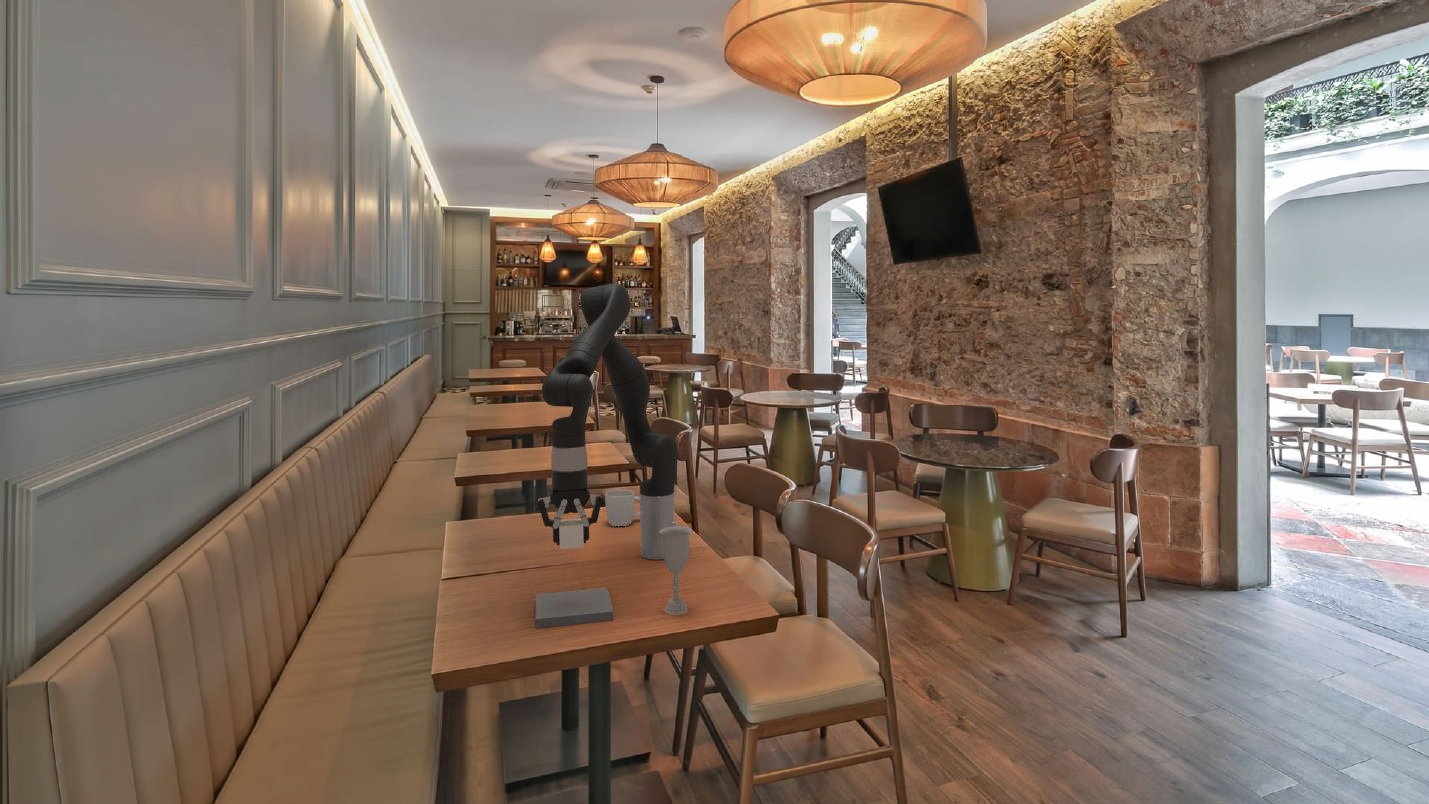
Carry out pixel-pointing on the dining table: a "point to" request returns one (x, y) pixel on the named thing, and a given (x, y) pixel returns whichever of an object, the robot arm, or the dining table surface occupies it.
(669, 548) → the chalice
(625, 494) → the mug
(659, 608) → the dining table surface
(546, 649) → the dining table surface
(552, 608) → the slate board
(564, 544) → the cube
